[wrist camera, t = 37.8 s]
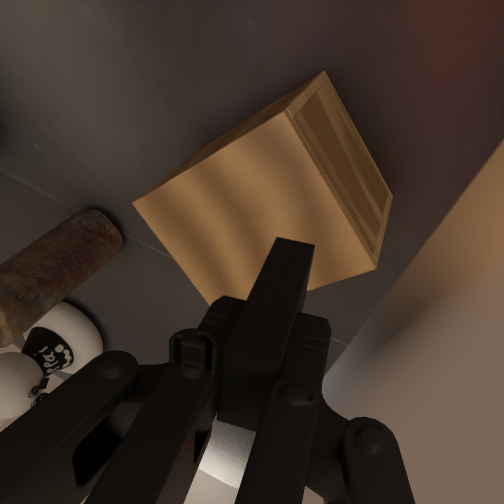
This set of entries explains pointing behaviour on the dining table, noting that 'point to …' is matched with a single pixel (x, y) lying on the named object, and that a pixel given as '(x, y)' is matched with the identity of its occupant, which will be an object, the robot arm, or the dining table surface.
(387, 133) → the dining table surface
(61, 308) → the decorative figurine
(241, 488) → the robot arm
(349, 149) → the chest
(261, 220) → the lid
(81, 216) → the brown upright cylinder
